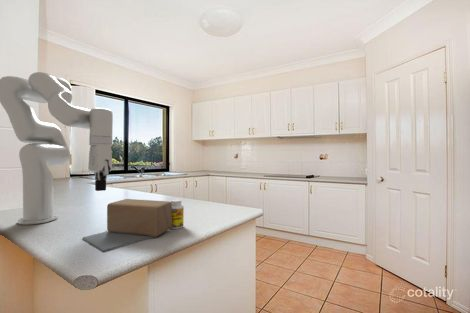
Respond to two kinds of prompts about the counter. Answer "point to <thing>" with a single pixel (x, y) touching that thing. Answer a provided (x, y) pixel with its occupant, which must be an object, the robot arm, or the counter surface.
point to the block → (139, 217)
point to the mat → (113, 240)
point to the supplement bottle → (177, 214)
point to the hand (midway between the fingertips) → (100, 190)
